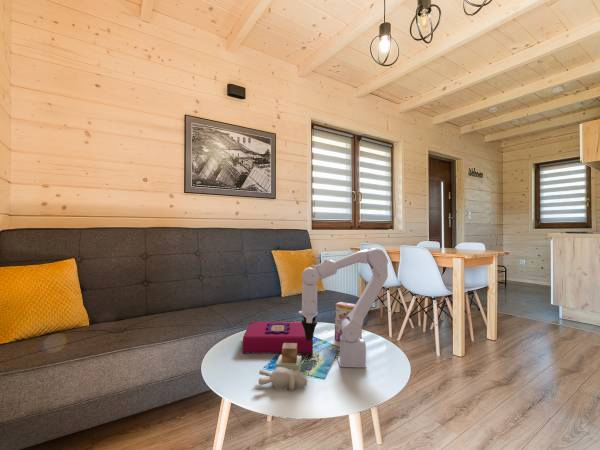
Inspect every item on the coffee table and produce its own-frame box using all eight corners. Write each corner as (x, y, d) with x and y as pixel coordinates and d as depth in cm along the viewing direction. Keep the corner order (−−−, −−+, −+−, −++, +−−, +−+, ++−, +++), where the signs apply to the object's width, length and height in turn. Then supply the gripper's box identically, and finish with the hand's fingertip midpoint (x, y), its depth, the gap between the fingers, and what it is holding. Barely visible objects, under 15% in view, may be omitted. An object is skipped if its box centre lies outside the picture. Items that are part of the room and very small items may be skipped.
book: (313, 355, 123) (313, 336, 123) (242, 355, 123) (242, 336, 123) (310, 336, 144) (310, 320, 144) (249, 336, 144) (249, 320, 144)
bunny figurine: (308, 379, 95) (259, 375, 93) (306, 396, 94) (257, 392, 93) (305, 365, 104) (260, 362, 103) (303, 381, 104) (258, 377, 103)
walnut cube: (297, 357, 113) (297, 343, 113) (296, 363, 108) (296, 348, 108) (283, 356, 113) (283, 342, 113) (281, 362, 108) (282, 348, 108)
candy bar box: (334, 340, 138) (334, 303, 138) (338, 337, 143) (339, 301, 143) (357, 345, 132) (358, 307, 132) (362, 342, 136) (362, 304, 137)
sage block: (301, 365, 114) (301, 355, 114) (298, 375, 106) (298, 365, 106) (279, 364, 115) (280, 354, 115) (275, 374, 107) (275, 364, 107)
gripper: (299, 295, 124) (299, 329, 124) (298, 304, 109) (297, 343, 109) (317, 296, 123) (317, 330, 123) (318, 305, 109) (317, 344, 109)
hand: (309, 336), depth 116 cm, fingers open, 7 cm apart
